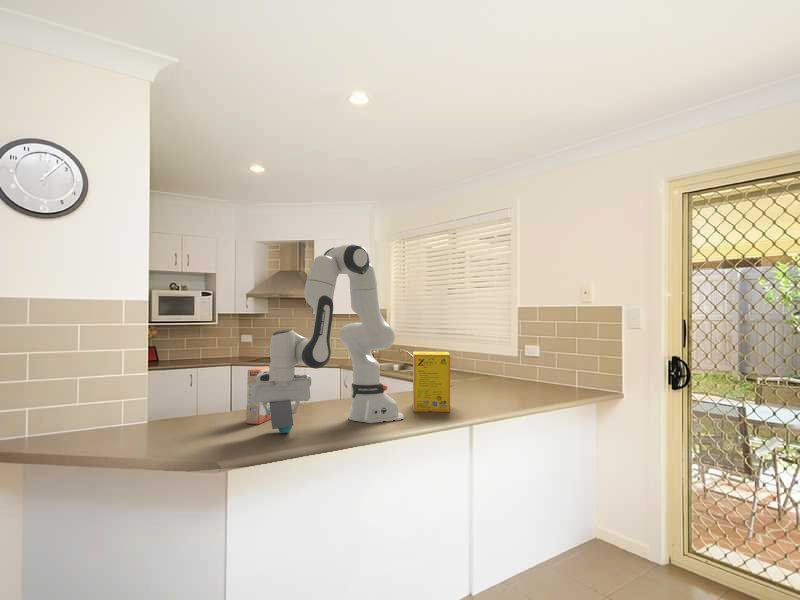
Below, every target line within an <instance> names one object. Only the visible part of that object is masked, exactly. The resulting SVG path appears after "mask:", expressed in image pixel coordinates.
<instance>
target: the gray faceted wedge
mask: <svg viewBox="0 0 800 600" xmlns="http://www.w3.org/2000/svg"><path fill="white" fill-rule="evenodd" d="M269 404H270V413H271V419H270V422H271V428H272V429H271V430H278V428H283V427H288V426H292V427H293V426H294V419H293V414H292V408H293V407H292V401H291V400H286V401H280V402H269Z"/></svg>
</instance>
